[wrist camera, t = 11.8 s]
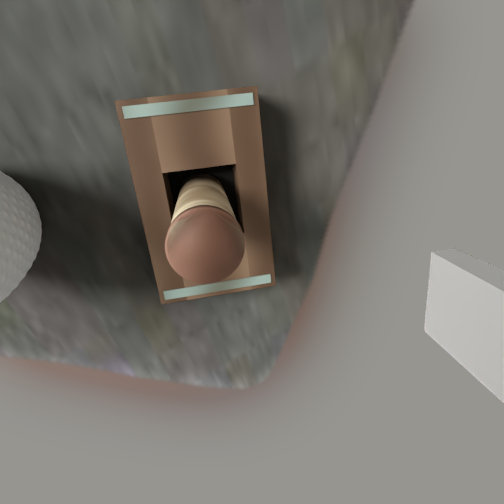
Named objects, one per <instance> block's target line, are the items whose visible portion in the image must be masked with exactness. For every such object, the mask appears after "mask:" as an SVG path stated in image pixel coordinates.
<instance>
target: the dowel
mask: <svg viewBox="0 0 504 504" xmlns="http://www.w3.org/2000/svg"><path fill="white" fill-rule="evenodd" d="M165 252H166V256H167V259H168V262H169V264H170V265H171V267H172V268H173V269H174V270H175V271H176V272H177V273H178V274H179V275H180V276H182V277H183V278H185V279H187V280H189V281H192V282H196V283H206V284H207V283H214V282H218V281H221V280H223V279H225V278H227V277H228V276H230V275H231V274H232V273H233V272H234V271H235V270H236V269H237V268H238V266H239V265H240V263H241V261H242V259H243V257H244V252H245V239H244V235H243V232H242V230H241V227H240V225H239V223H238V222H237V220H236V218H235V215H234V213H233V210H232V208H231V205H230V203H229V201H228V198H227V196H226V193H225V191H224V188H223V186H222V184H221V183H220V182H219V180H218V179H216V178H215V177H214V176H212V175H209V174H205V173H198V174H194V175H192V176H190V177H188V178H187V179H186V180H185V181H184V183H183V184H182V186H181V189H180V192H179V196H178V200H177V203H176V207H175V211H174V214H173V218H172V221H171V225H170V227H169V229H168V232H167V236H166V240H165Z"/></svg>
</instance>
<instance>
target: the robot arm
mask: <svg viewBox="0 0 504 504" xmlns="http://www.w3.org/2000/svg"><path fill="white" fill-rule="evenodd" d="M430 263H431V264H430V272H429V284H428V294H427V305H426V316H425V328H424V331H425V332H426V333H427V334H428V335H429V336H431V337H432V338H433V339H434V340H435V341H436V342H437V343H438V344H439V345H440V346H441V347H443V348H444V349H445V350H446V351H447V352H448V353H449V354H450V355H451V356H452V357H454V358H455V359H456V360H457V361H458V362H459V363H460V364H461V365H462V366H463V367H465V368H466V369H467V370H468V371H469V372H470V373H471V374H472V375H473V376H474V377H476V378H477V379H478V380H479V381H480V382H481V383H482V384H483V385H484V386H485V387H486V388H488V389H489V390H490V391H491V392H492V393H493V394H494V395H495V396H496V397H497V398H499V399H500V400H501V401H502V402H503V403H504V271H502V270H500V269H498V268H496V267H494V266H492V265H489V264H487V263H485V262H483V261H481V260H479V259H477V258H474V257H473V256H471V255H469V254H466V253H464V252H462V251H460V250H458V249H456V248H454V249H447V250H441V251H434V252H432V253H431V262H430Z"/></svg>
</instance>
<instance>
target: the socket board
mask: <svg viewBox="0 0 504 504" xmlns="http://www.w3.org/2000/svg"><path fill="white" fill-rule="evenodd" d="M115 104H116V109H117V113H118V117H119V122H120V126H121V130H122V135H123V139H124V143H125V148H126V152H127V157H128V161H129V165H130V170H131V174H132V178H133V183H134V187H135V191H136V196H137V200H138V204H139V209H140V213H141V218H142V222H143V226H144V231H145V235H146V239H147V244H148V248H149V252H150V257H151V261H152V265H153V270H154V274H155V279H156V283H157V287H158V292H159V296H160V300H161V304H167V303H173V302H179V301H185V300H191V299H197V298H203V297H209V296H215V295H221V294H227V293H233V292H239V291H245V290H251V289H257V288H263V287H269V286H275V285H276V282H275V271H274V260H273V250H272V239H271V228H270V217H269V207H268V196H267V185H266V174H265V163H264V153H263V142H262V131H261V120H260V110H259V99H258V88H257V86H252V87H243V88H233V89H224V90H214V91H205V92H195V93H186V94H176V95H167V96H157V97H148V98H138V99H129V100H119V101H115ZM230 164H232V169H233V177H234V185H235V193H236V201H237V209H238V217H239V221H237V222H238V223H239V225H240V227H241V230H242V232H243V235H244V239H245V252H244V257H243V259H242V261H241V263H240V265H239V266H238V268H237V269H236V270H235V271H234V272H233V273H232V274H231V275H230V276H228V277H227V278H225V279H223V280H221V281H218V282H214V283H207V284H206V283H196V282H192V281H189V280H187V279H185V278H183V277H182V276H180V275H179V274H178V273H177V272H176V271H175V270H174V269H173V268H172V267H171V265H170V264H169V262H168V259H167V256H166V252H165V240H166V236H167V232H168V229H169V227H170V225H171V221H172V218H173V214H174V211H175V209H174V203H173V198H172V193H171V188H170V183H169V177H168V172H175V171H183V170H191V169H199V168H206V167H214V166H222V165H230Z"/></svg>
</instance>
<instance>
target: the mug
mask: <svg viewBox="0 0 504 504" xmlns="http://www.w3.org/2000/svg"><path fill="white" fill-rule="evenodd" d="M41 224H42V223H41V220H40V216H39V212H38V210H37V208H36V205H35V202H34V201H33V200H32V198H31V197H30V195H29V194H28V193H27V192H26V191H25V190H24V189H23V187H22V186H21V185H20V184H19V183H17V182H16V181H15V180H13V178H12V177H10V176H7V175H5V174H4V173H3V172H1V171H0V302H1V301H2V300H3V299H5V298H6V297H7V296H9V295H10V293H11V292H12V290H13V289H15V288H16V287H17V286H18V284H19V283H20V281H21V280H22V279H23V278H24V277H25V276H26V273H27V271H28V270H29V269H30V268H31V267H32V263H33V261H34V260H35V259H36V256H37V252H38V251H39V248H40V246H39V245H40V242H41V234H42V229H41Z"/></svg>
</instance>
